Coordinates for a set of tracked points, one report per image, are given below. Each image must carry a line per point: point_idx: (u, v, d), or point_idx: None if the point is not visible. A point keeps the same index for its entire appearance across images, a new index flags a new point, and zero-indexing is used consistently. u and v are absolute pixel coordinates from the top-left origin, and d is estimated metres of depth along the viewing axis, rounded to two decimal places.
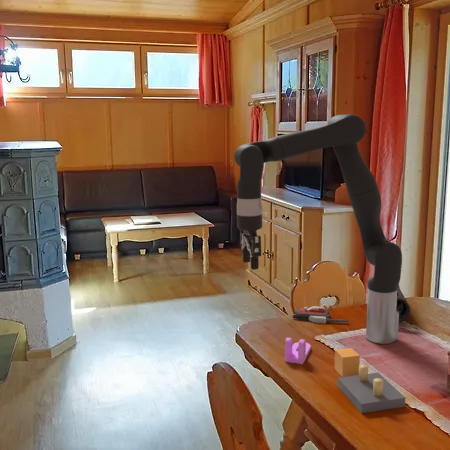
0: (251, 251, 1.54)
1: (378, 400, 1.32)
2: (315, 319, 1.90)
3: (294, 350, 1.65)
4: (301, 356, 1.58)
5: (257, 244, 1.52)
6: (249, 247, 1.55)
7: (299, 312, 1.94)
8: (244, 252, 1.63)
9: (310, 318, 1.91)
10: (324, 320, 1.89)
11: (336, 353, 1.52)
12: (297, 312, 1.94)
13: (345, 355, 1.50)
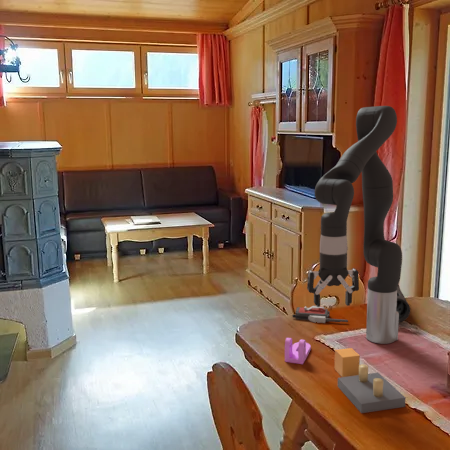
0: (350, 287, 1.49)
1: (378, 400, 1.32)
2: (315, 319, 1.90)
3: (294, 350, 1.65)
4: (301, 356, 1.58)
5: None
6: (347, 284, 1.48)
7: (299, 312, 1.94)
8: None
9: (310, 318, 1.91)
10: (324, 320, 1.89)
11: (336, 353, 1.52)
12: (297, 312, 1.94)
13: (345, 355, 1.50)
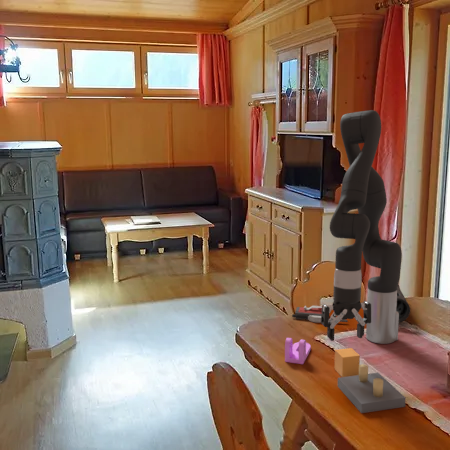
0: (362, 320, 1.50)
1: (378, 400, 1.32)
2: (314, 318, 1.90)
3: (294, 350, 1.65)
4: (301, 356, 1.58)
5: None
6: (360, 317, 1.49)
7: (299, 311, 1.94)
8: None
9: (309, 317, 1.92)
10: None
11: (336, 353, 1.52)
12: (297, 311, 1.94)
13: (345, 355, 1.50)
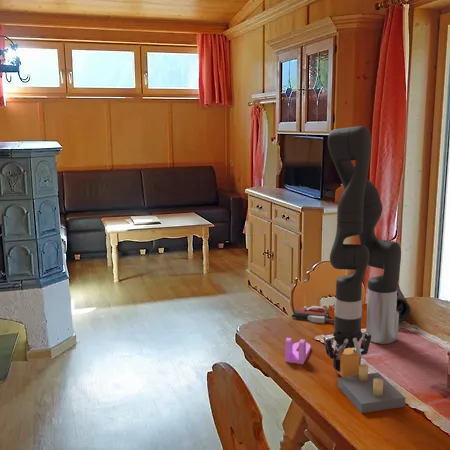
0: (360, 351, 1.51)
1: (378, 400, 1.32)
2: (314, 319, 1.90)
3: (294, 350, 1.65)
4: (301, 356, 1.58)
5: None
6: None
7: (298, 311, 1.94)
8: None
9: (309, 318, 1.92)
10: (322, 320, 1.89)
11: None
12: (296, 311, 1.94)
13: (345, 355, 1.50)
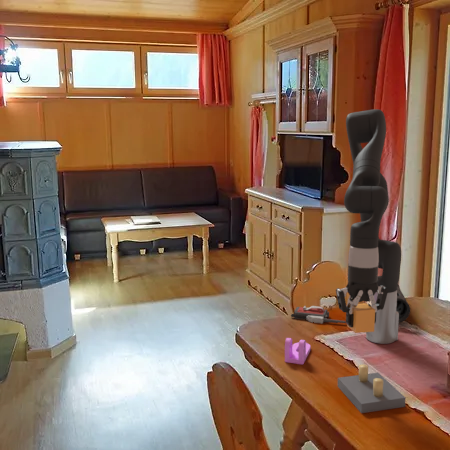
0: (375, 305, 1.38)
1: (378, 400, 1.32)
2: (312, 319, 1.90)
3: (294, 350, 1.65)
4: (301, 356, 1.58)
5: None
6: None
7: (297, 311, 1.94)
8: None
9: (308, 317, 1.92)
10: (321, 320, 1.89)
11: None
12: (295, 311, 1.95)
13: (359, 309, 1.37)
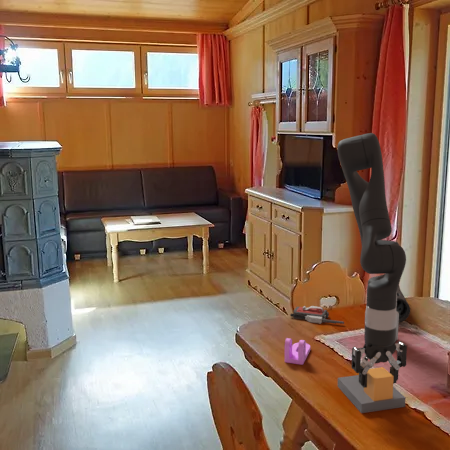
0: (397, 363, 1.33)
1: None
2: (311, 319, 1.90)
3: (294, 351, 1.64)
4: (301, 356, 1.57)
5: None
6: (395, 360, 1.32)
7: (297, 311, 1.95)
8: None
9: (306, 317, 1.92)
10: (319, 320, 1.89)
11: (366, 373, 1.35)
12: (295, 311, 1.95)
13: (377, 376, 1.32)
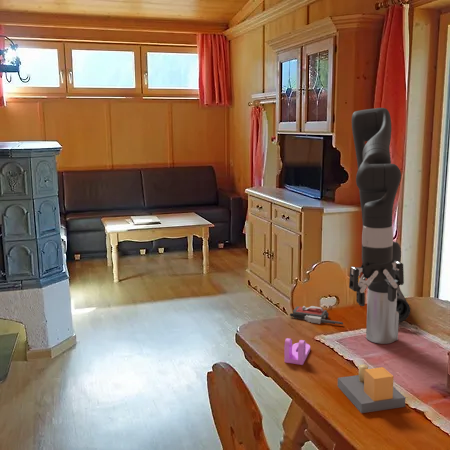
0: (394, 281, 1.36)
1: None
2: (310, 319, 1.90)
3: (294, 351, 1.64)
4: (301, 357, 1.57)
5: None
6: (392, 278, 1.36)
7: (296, 311, 1.95)
8: None
9: (306, 317, 1.92)
10: (318, 320, 1.89)
11: (366, 373, 1.35)
12: (294, 311, 1.95)
13: (377, 376, 1.32)
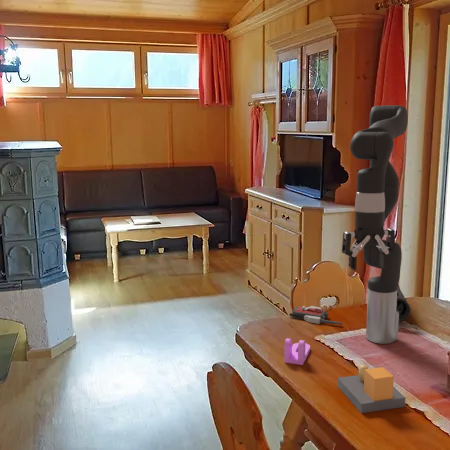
0: (386, 247, 1.41)
1: None
2: (309, 319, 1.90)
3: (294, 351, 1.64)
4: (301, 357, 1.57)
5: None
6: None
7: (296, 311, 1.95)
8: None
9: (305, 317, 1.92)
10: (318, 320, 1.89)
11: (366, 373, 1.35)
12: (294, 310, 1.95)
13: (377, 376, 1.32)
